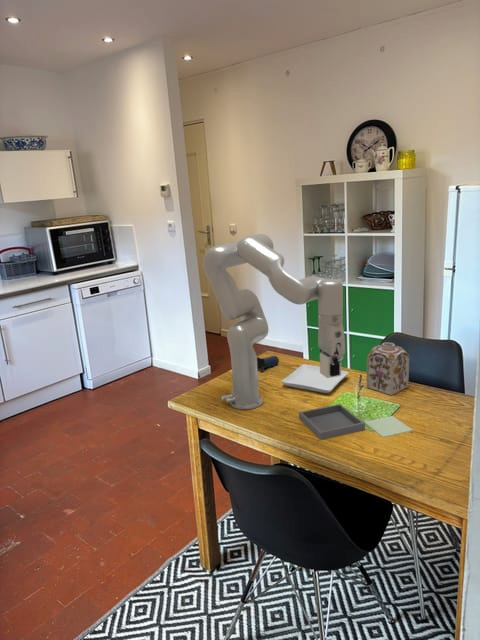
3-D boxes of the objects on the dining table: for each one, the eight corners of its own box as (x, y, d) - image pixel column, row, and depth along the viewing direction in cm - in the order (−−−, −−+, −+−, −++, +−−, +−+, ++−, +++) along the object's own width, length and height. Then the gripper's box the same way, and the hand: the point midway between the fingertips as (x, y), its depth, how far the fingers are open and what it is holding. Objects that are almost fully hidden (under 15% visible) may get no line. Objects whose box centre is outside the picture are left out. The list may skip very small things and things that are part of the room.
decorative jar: (365, 388, 192) (366, 344, 188) (382, 379, 200) (383, 337, 195) (392, 396, 184) (393, 351, 179) (409, 387, 191) (411, 343, 186)
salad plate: (330, 398, 186) (330, 389, 185) (280, 388, 197) (280, 380, 196) (349, 378, 203) (350, 371, 202) (303, 371, 214) (302, 363, 213)
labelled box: (327, 378, 156) (327, 357, 155) (320, 372, 161) (319, 352, 159) (341, 375, 158) (341, 354, 156) (333, 370, 163) (333, 350, 161)
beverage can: (262, 376, 214) (281, 369, 222) (264, 360, 211) (283, 354, 219) (248, 367, 220) (267, 361, 228) (250, 352, 217) (269, 346, 225)
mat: (383, 439, 154) (383, 436, 154) (364, 424, 164) (364, 421, 164) (412, 432, 157) (413, 429, 157) (392, 417, 167) (392, 415, 167)
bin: (320, 441, 155) (320, 432, 154) (299, 420, 169) (298, 412, 169) (364, 431, 159) (365, 423, 158) (340, 411, 174) (340, 403, 173)
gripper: (355, 323, 148) (354, 379, 153) (328, 311, 163) (328, 362, 168) (332, 326, 146) (332, 383, 150) (307, 313, 161) (308, 365, 166)
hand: (330, 371), depth 159 cm, fingers closed on labelled box, 5 cm apart
